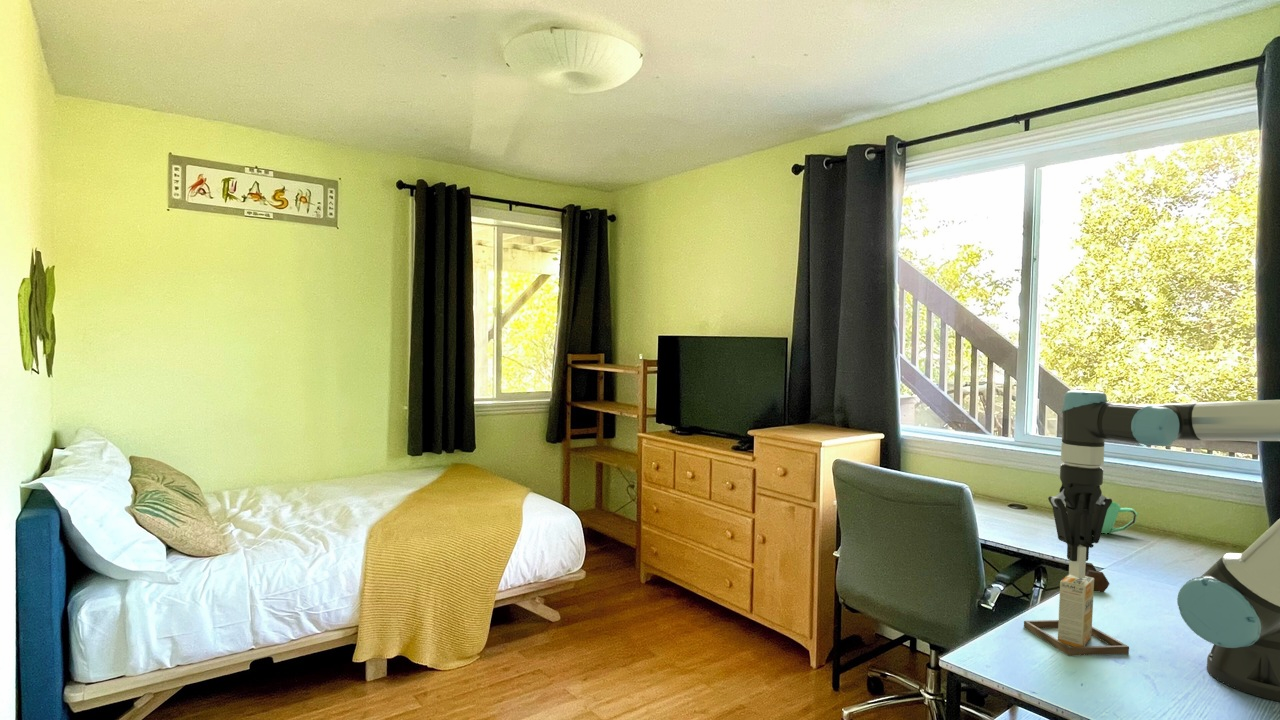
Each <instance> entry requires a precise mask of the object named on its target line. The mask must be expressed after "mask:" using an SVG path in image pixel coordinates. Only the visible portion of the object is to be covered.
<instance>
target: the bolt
mask: <svg viewBox="0 0 1280 720" xmlns="http://www.w3.org/2000/svg"><path fill="white" fill-rule="evenodd" d="M1085 576H1087V577H1092V578H1094V591H1100V592H1099V593H1104V592H1105V591H1106V590H1107V589H1108V588H1109V586H1110V582H1109V581H1108V579H1107V577H1106V575H1105V574H1104V572H1103V571H1098V570H1097V569H1096V568H1095V565H1094V564H1093V563H1092V562H1088V561H1086V568H1085Z"/></svg>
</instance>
